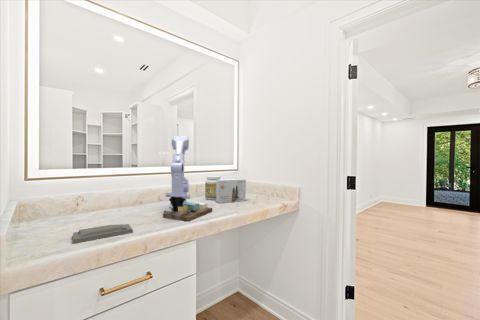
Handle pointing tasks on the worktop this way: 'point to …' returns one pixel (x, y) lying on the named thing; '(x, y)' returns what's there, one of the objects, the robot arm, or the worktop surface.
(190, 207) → the teal button
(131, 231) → the soap mold
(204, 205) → the white rectangular block
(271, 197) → the worktop surface
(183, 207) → the brass slider
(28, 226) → the worktop surface
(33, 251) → the worktop surface
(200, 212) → the panel
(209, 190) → the supplement tub
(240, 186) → the skincare box
